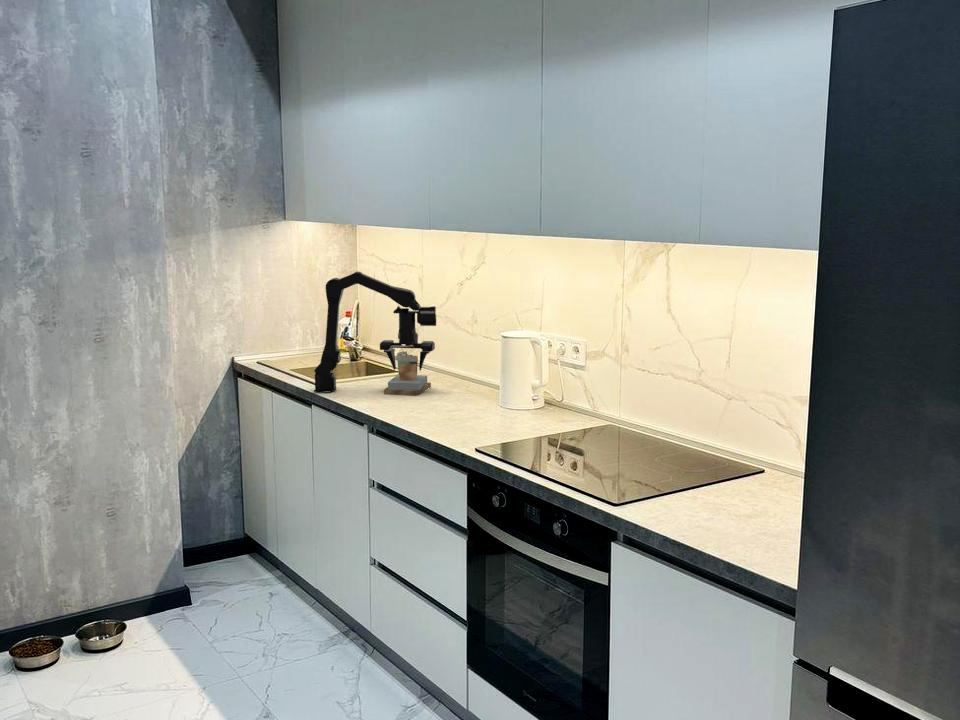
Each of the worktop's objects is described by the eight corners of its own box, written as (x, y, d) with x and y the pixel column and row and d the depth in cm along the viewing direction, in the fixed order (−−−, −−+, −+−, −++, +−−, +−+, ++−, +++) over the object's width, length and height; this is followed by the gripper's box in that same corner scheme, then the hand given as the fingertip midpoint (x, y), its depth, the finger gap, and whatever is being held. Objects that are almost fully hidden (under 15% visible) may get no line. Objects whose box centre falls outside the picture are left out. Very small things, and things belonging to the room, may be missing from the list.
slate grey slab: (387, 389, 340) (387, 382, 340) (397, 381, 355) (397, 374, 354) (419, 390, 338) (419, 383, 338) (427, 382, 353) (427, 375, 353)
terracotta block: (399, 379, 344) (399, 365, 343) (402, 377, 349) (402, 363, 348) (413, 380, 343) (413, 366, 342) (416, 377, 348) (416, 364, 347)
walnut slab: (384, 396, 341) (383, 389, 340) (399, 387, 356) (399, 380, 356) (416, 398, 338) (416, 391, 337) (430, 389, 353) (430, 382, 353)
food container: (391, 378, 370) (390, 352, 369) (406, 377, 373) (406, 351, 371) (402, 384, 359) (402, 357, 358) (418, 382, 362) (418, 355, 360)
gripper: (437, 323, 350) (437, 366, 352) (386, 322, 352) (386, 365, 355) (431, 327, 339) (432, 372, 341) (379, 326, 341) (379, 370, 344)
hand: (407, 369), depth 346 cm, fingers open, 9 cm apart
